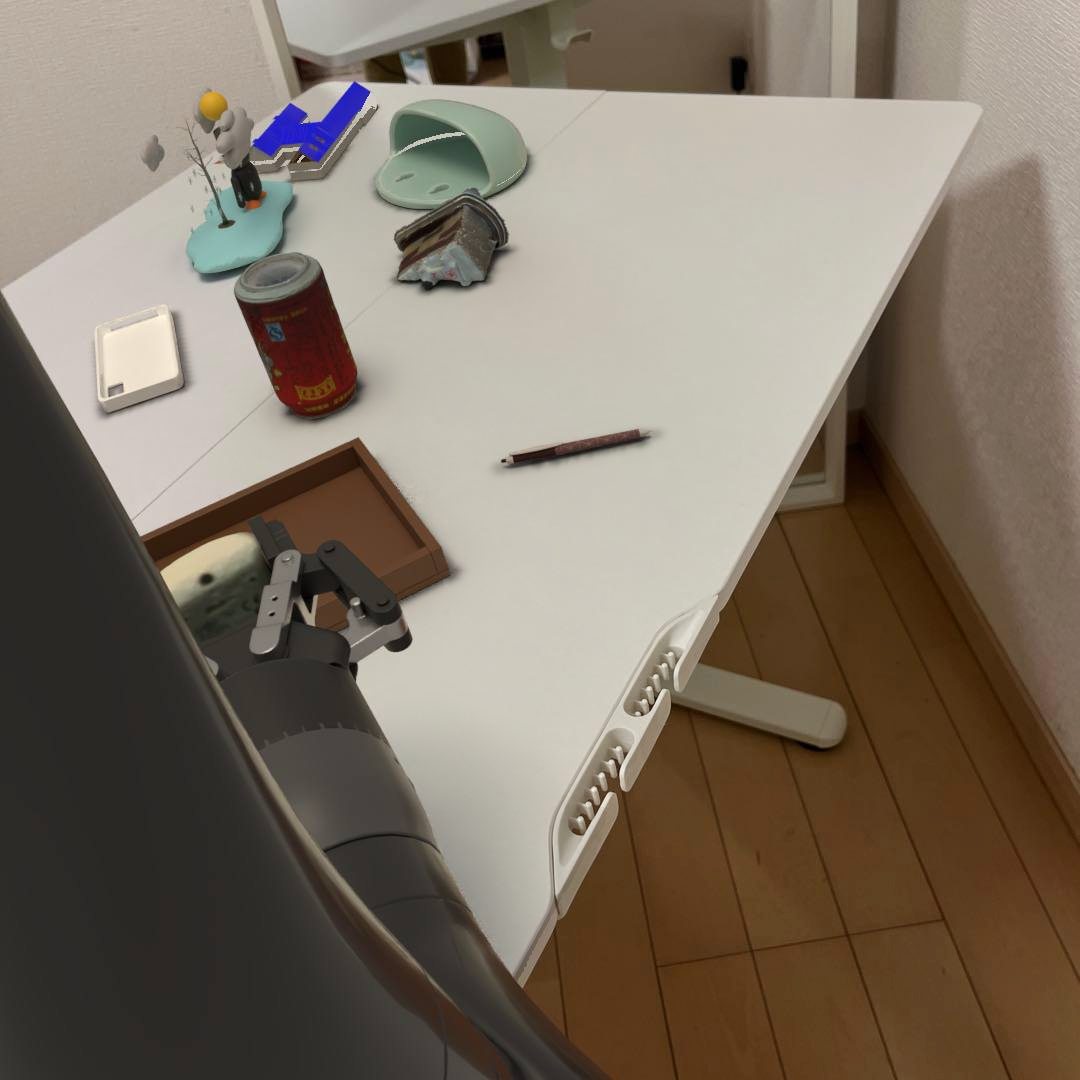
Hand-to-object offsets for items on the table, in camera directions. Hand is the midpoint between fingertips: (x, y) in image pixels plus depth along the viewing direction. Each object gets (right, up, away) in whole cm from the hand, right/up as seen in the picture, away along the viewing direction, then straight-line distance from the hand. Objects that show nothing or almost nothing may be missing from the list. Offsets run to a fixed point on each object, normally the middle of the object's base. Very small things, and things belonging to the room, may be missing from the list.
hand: (196, 561), depth 51 cm
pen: (+19, +8, +30) cm, 36 cm away
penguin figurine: (-16, +34, +69) cm, 79 cm away
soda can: (-2, +13, +42) cm, 44 cm away
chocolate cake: (+7, +27, +54) cm, 61 cm away
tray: (-2, -1, +26) cm, 26 cm away
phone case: (-21, +18, +52) cm, 59 cm away
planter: (+6, +42, +71) cm, 83 cm away
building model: (-12, +50, +85) cm, 99 cm away
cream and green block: (+2, -6, +2) cm, 7 cm away
